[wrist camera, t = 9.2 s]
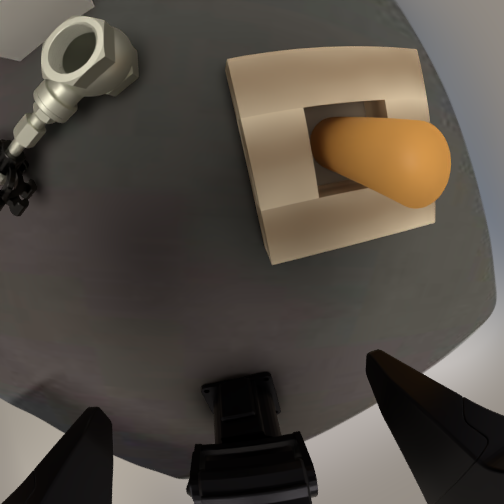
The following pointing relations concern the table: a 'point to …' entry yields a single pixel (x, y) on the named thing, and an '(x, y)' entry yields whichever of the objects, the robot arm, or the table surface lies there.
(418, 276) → the table surface
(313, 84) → the socket block
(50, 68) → the valve
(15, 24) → the corner bracket
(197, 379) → the table surface
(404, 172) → the peg
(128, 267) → the table surface
